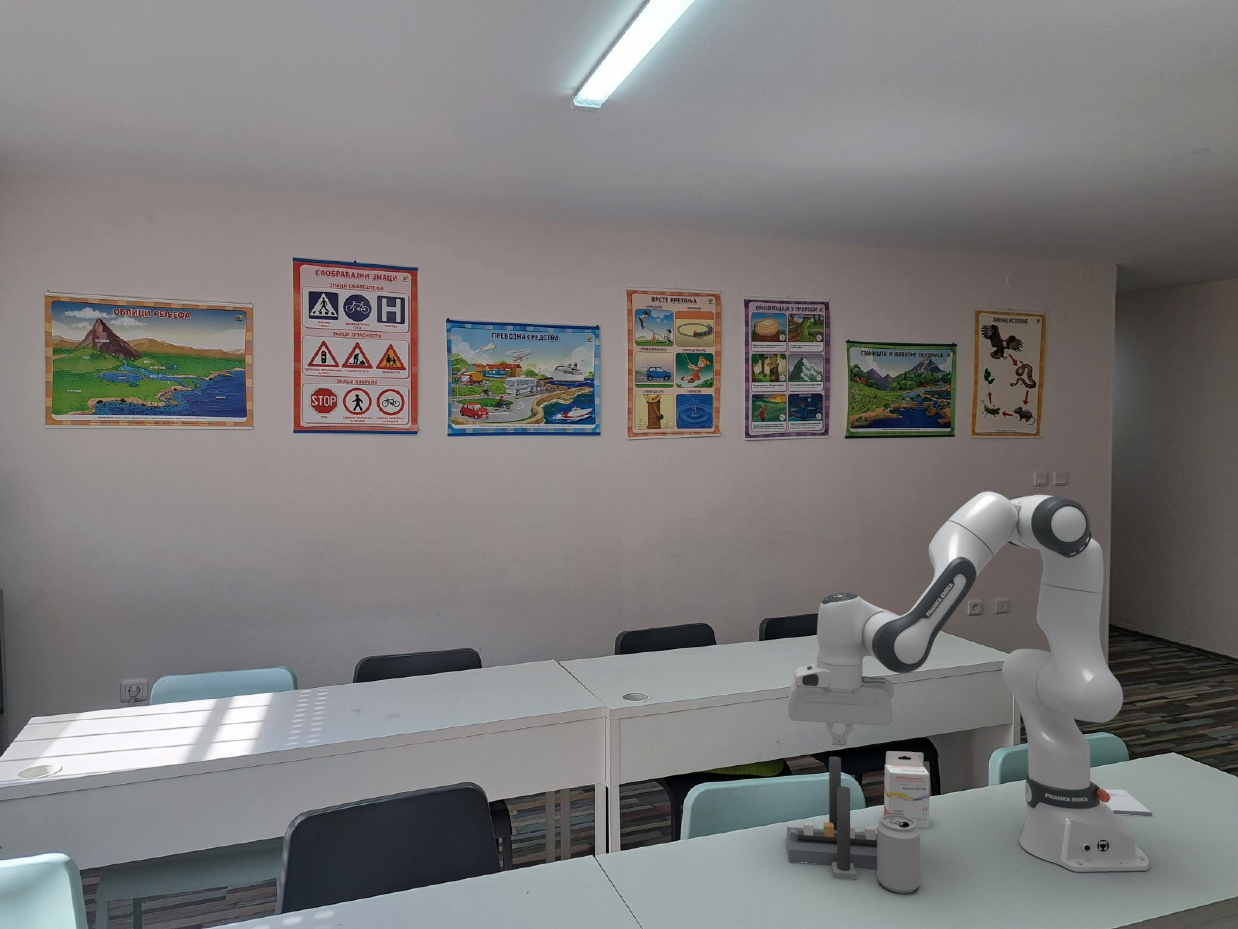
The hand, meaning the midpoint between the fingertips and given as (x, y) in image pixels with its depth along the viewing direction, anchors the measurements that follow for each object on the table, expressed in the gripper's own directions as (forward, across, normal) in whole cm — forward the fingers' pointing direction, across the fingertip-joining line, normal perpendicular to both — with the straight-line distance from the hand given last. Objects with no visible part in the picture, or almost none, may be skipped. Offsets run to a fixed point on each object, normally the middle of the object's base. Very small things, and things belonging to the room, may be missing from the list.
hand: (838, 744), depth 163 cm
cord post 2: (+22, 0, +8) cm, 23 cm away
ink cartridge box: (+22, -16, -17) cm, 32 cm away
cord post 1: (+22, 0, -8) cm, 23 cm away
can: (+22, -10, +10) cm, 26 cm away
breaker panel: (+22, 0, 0) cm, 22 cm away
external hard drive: (+22, -66, -35) cm, 78 cm away
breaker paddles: (+19, 0, 0) cm, 19 cm away
